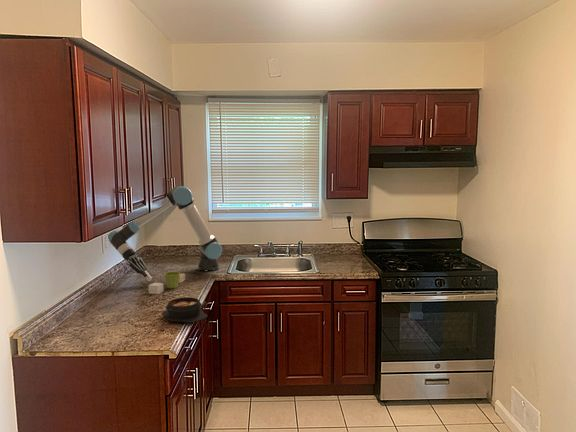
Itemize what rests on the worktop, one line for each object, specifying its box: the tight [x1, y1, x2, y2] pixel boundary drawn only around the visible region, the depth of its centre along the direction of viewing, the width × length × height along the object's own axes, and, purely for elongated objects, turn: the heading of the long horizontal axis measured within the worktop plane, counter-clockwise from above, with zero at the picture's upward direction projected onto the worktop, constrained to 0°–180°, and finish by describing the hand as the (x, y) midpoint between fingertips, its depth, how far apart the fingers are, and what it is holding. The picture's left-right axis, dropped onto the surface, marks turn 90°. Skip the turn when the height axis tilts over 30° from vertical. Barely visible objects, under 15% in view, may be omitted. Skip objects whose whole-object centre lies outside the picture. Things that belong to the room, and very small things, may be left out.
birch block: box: [178, 272, 186, 284], centre depth 282 cm, size 6×6×5 cm
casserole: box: [161, 296, 208, 324], centre depth 214 cm, size 25×19×8 cm
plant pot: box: [163, 271, 180, 289], centre depth 269 cm, size 9×9×9 cm
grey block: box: [148, 282, 165, 295], centre depth 259 cm, size 6×6×5 cm
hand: (150, 279), depth 273 cm, fingers closed
